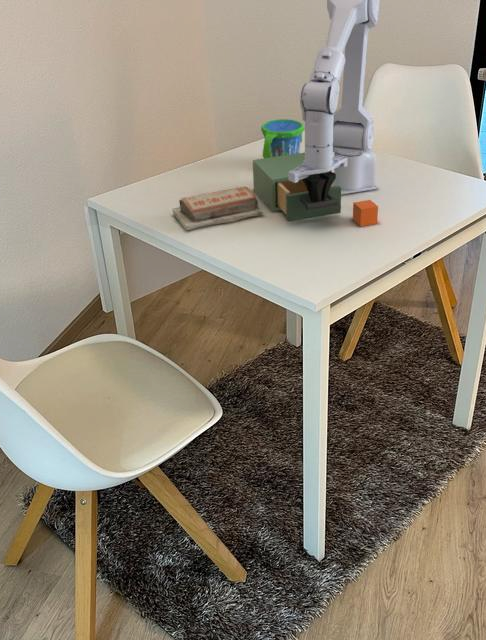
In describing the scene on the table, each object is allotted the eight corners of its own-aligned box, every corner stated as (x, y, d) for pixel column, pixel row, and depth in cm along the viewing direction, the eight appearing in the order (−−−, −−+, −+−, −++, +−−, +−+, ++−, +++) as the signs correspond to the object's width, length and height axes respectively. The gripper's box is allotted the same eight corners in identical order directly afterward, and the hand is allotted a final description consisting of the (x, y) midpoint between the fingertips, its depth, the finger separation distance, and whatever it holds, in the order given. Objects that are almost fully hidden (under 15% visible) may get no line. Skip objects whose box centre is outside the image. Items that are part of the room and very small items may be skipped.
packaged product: (244, 180, 167) (262, 195, 159) (245, 200, 169) (262, 216, 162) (169, 194, 161) (184, 210, 153) (172, 215, 163) (186, 232, 156)
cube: (369, 216, 160) (370, 199, 158) (377, 223, 157) (378, 206, 155) (352, 219, 159) (353, 202, 157) (360, 226, 156) (361, 209, 154)
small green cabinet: (328, 202, 167) (328, 170, 163) (272, 212, 164) (271, 179, 159) (306, 182, 178) (306, 152, 173) (253, 190, 174) (252, 159, 170)
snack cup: (280, 177, 181) (279, 137, 175) (248, 169, 186) (246, 129, 181) (317, 160, 191) (317, 120, 185) (285, 152, 196) (285, 114, 191)
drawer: (349, 221, 156) (350, 195, 153) (295, 230, 153) (295, 204, 150) (318, 193, 170) (319, 169, 167) (268, 201, 167) (268, 176, 163)
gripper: (332, 131, 154) (330, 192, 161) (278, 146, 146) (279, 209, 154) (355, 139, 149) (352, 201, 157) (301, 155, 142) (301, 219, 150)
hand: (318, 206), depth 155 cm, fingers closed, pressing on drawer
